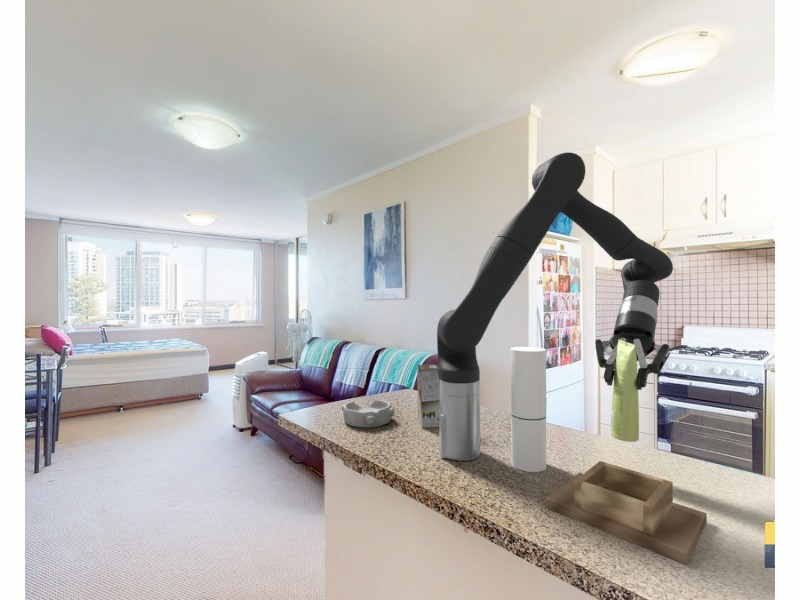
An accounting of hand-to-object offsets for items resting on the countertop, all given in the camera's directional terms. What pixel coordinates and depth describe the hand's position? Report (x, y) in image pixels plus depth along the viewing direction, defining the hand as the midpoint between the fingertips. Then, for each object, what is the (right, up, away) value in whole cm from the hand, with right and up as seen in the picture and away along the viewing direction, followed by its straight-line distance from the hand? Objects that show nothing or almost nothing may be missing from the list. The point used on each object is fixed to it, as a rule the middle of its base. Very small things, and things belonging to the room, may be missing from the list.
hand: (623, 385), depth 77 cm
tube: (+1, -11, +2) cm, 12 cm away
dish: (-53, -19, +37) cm, 68 cm away
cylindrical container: (-16, -19, +7) cm, 26 cm away
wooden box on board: (-7, -19, -12) cm, 24 cm away
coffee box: (-35, -19, +36) cm, 54 cm away
